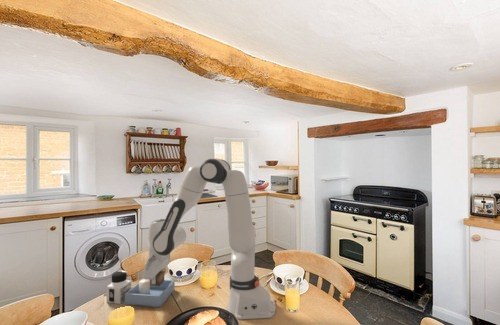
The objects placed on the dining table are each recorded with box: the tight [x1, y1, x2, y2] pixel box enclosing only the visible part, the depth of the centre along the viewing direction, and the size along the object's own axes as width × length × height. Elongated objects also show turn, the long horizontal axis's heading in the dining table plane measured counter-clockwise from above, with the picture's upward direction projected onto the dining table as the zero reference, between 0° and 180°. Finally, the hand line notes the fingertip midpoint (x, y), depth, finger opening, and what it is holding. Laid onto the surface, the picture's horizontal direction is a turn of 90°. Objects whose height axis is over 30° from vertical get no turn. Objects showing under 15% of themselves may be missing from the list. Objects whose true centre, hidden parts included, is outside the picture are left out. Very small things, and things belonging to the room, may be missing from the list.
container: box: [106, 270, 132, 305], centre depth 119 cm, size 8×8×13 cm
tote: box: [124, 277, 176, 308], centre depth 121 cm, size 18×16×5 cm
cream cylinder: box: [138, 278, 150, 295], centre depth 121 cm, size 5×5×7 cm
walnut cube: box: [150, 270, 165, 286], centre depth 120 cm, size 5×5×5 cm
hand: (157, 280), depth 120 cm, fingers closed on walnut cube, 5 cm apart
